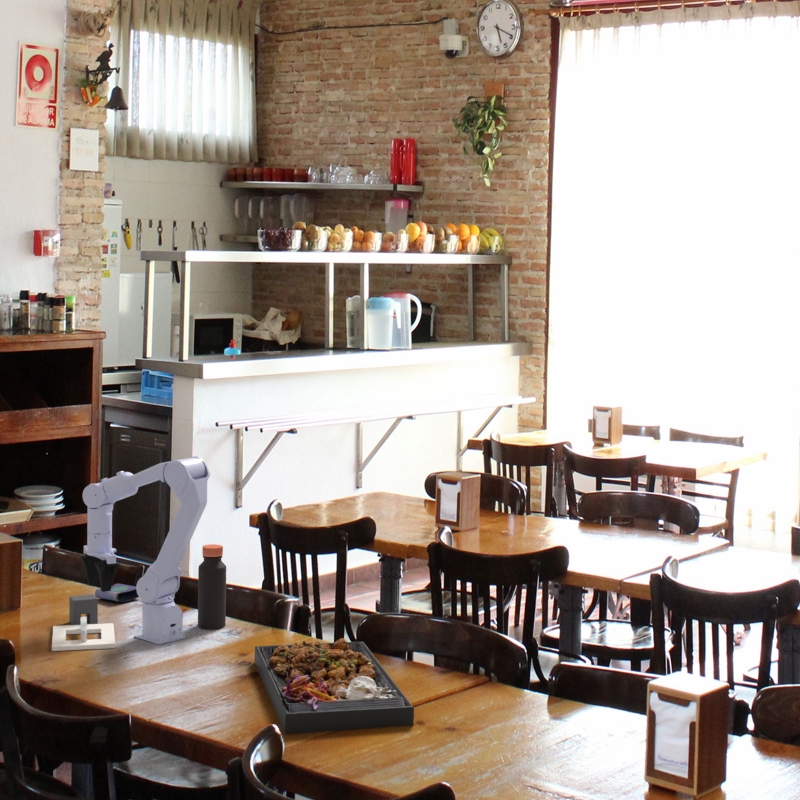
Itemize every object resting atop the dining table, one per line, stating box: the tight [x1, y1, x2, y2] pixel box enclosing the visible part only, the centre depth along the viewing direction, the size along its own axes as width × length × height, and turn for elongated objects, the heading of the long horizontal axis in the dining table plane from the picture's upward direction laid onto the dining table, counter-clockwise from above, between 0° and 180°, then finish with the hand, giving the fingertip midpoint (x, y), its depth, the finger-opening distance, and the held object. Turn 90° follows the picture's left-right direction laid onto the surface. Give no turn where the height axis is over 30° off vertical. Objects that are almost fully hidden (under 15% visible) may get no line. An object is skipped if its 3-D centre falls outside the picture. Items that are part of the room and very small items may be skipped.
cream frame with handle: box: [51, 615, 117, 652], centre depth 282 cm, size 18×14×4 cm
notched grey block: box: [68, 593, 99, 625], centre depth 295 cm, size 6×5×6 cm
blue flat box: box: [94, 583, 140, 603], centre depth 319 cm, size 9×3×11 cm
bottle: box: [197, 543, 227, 631], centre depth 294 cm, size 7×7×20 cm
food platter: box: [254, 637, 415, 736], centre depth 247 cm, size 45×25×10 cm, turn 14°
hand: (99, 587), depth 290 cm, fingers open, 7 cm apart
